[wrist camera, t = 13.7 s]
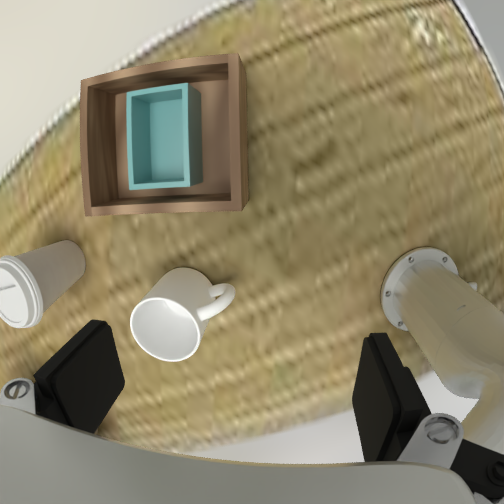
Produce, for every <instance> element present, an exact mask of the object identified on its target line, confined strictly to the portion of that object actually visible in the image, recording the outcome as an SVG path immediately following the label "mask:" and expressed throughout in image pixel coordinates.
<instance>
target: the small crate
mask: <svg viewBox="0 0 504 504" xmlns="http://www.w3.org/2000/svg"><path fill="white" fill-rule="evenodd" d="M126 117H127V158H128V178H129V190H139V189H154V188H171V187H190V186H193V185H196V184H199V183H202V182H203V161H202V122H201V93H200V92H199V91H197V90H196V89H195V88H194V87H192V86H191V85H190V84H189V83H182V84H174V85H167V86H160V87H153V88H147V89H141V90H136V91H130V92H127V106H126Z"/></svg>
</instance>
